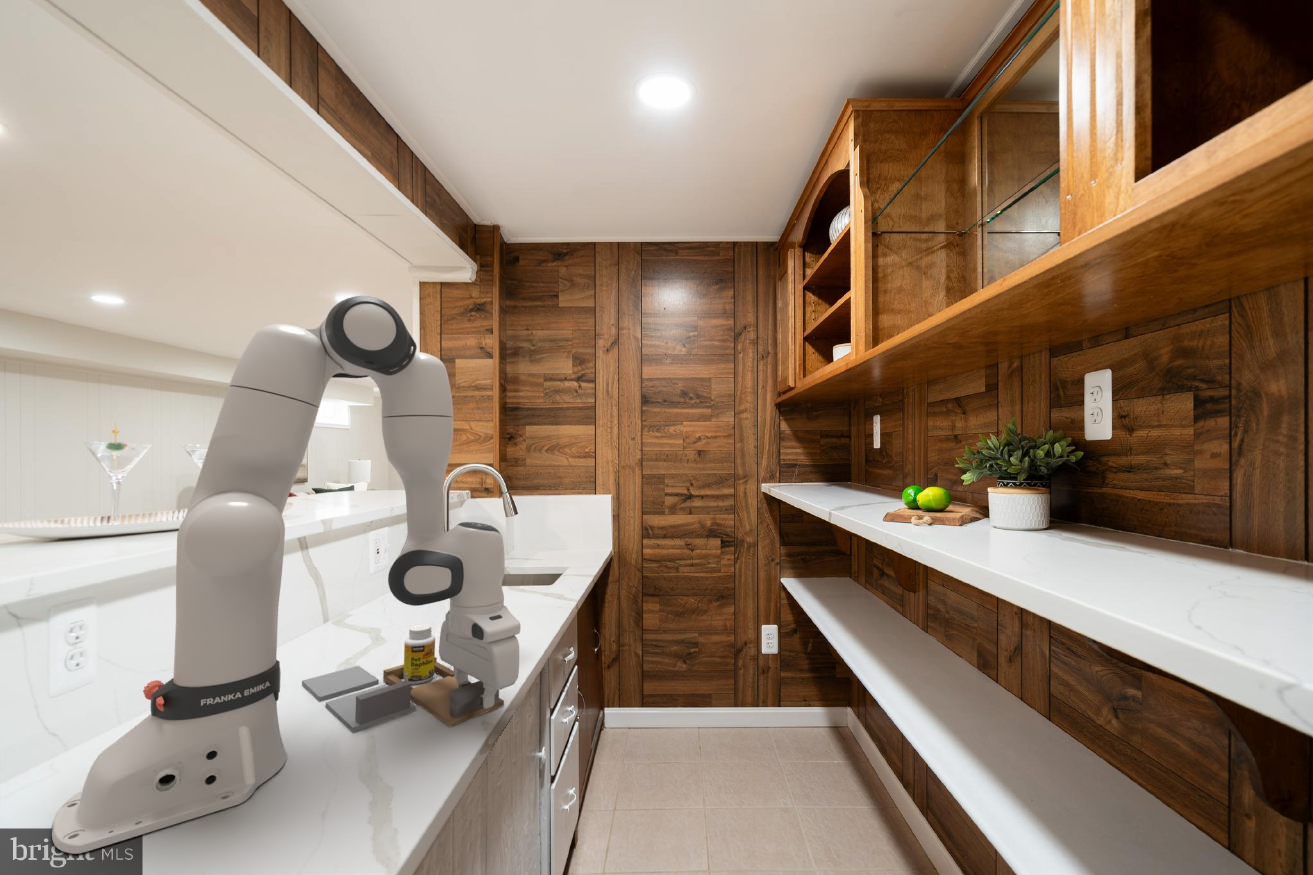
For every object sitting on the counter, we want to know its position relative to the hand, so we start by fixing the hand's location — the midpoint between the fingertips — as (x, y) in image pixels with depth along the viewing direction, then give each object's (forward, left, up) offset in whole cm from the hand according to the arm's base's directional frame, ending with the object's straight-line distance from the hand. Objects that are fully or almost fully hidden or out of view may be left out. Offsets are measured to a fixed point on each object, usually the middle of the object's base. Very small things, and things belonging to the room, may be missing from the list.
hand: (475, 699), depth 90 cm
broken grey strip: (-11, +23, -3) cm, 26 cm away
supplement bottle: (0, +21, -3) cm, 21 cm away
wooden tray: (0, +13, -3) cm, 13 cm away
